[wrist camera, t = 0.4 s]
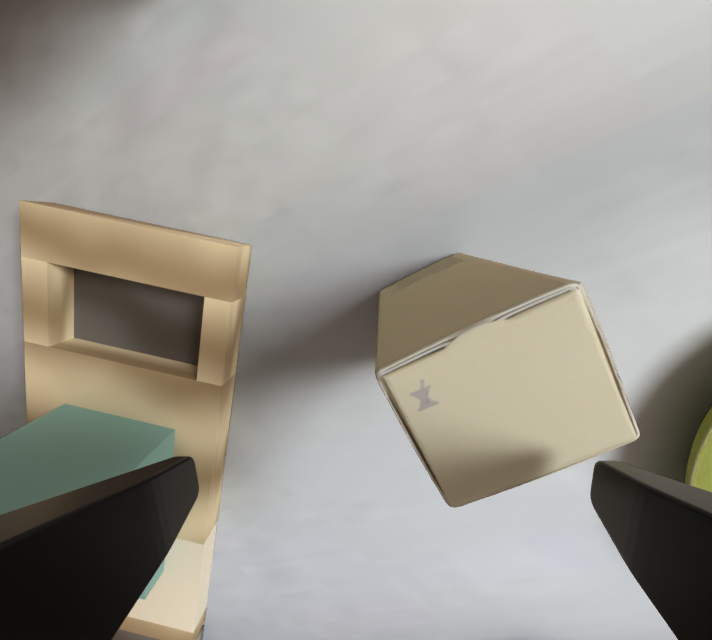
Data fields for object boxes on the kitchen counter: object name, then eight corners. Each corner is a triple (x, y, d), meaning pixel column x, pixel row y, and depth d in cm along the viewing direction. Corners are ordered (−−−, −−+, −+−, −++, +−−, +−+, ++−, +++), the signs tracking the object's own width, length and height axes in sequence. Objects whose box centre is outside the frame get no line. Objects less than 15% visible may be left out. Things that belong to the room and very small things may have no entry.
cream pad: (56, 482, 27) (30, 501, 25) (217, 521, 26) (203, 544, 24) (57, 568, 29) (33, 592, 27) (206, 605, 28) (193, 633, 26)
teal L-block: (64, 403, 22) (-228, 562, 12) (175, 429, 22) (-22, 615, 12) (65, 546, 25) (-170, 778, 15) (163, 570, 25) (-4, 825, 14)
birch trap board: (52, 202, 22) (19, 200, 20) (251, 245, 21) (237, 246, 19) (58, 654, 31) (36, 682, 29) (195, 690, 31) (182, 721, 29)
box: (411, 354, 22) (439, 523, 9) (377, 288, 21) (359, 377, 9) (496, 315, 21) (654, 447, 8) (464, 245, 20) (586, 274, 8)
